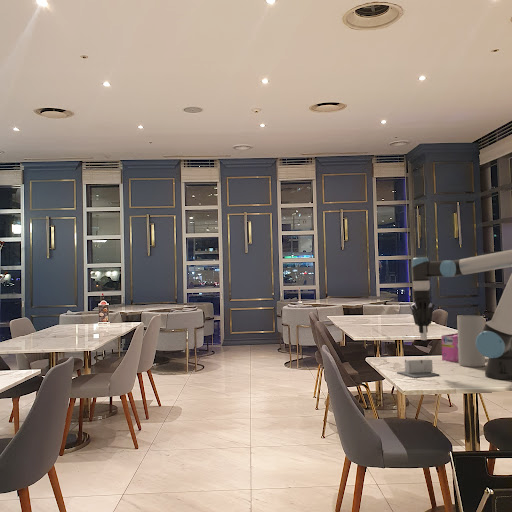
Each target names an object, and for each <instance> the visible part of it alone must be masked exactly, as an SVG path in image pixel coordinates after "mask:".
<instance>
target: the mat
mask: <svg viewBox="0 0 512 512" xmlns="http://www.w3.org/2000/svg"><path fill="white" fill-rule="evenodd" d="M396 374H398V375H402V376H406V377H409V378H413V379H418V378H428V377H430V378H431V377H439V376H440V374H439V373H435V372H423V373H407V372H405V370H404V371H397V372H396Z"/></svg>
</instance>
